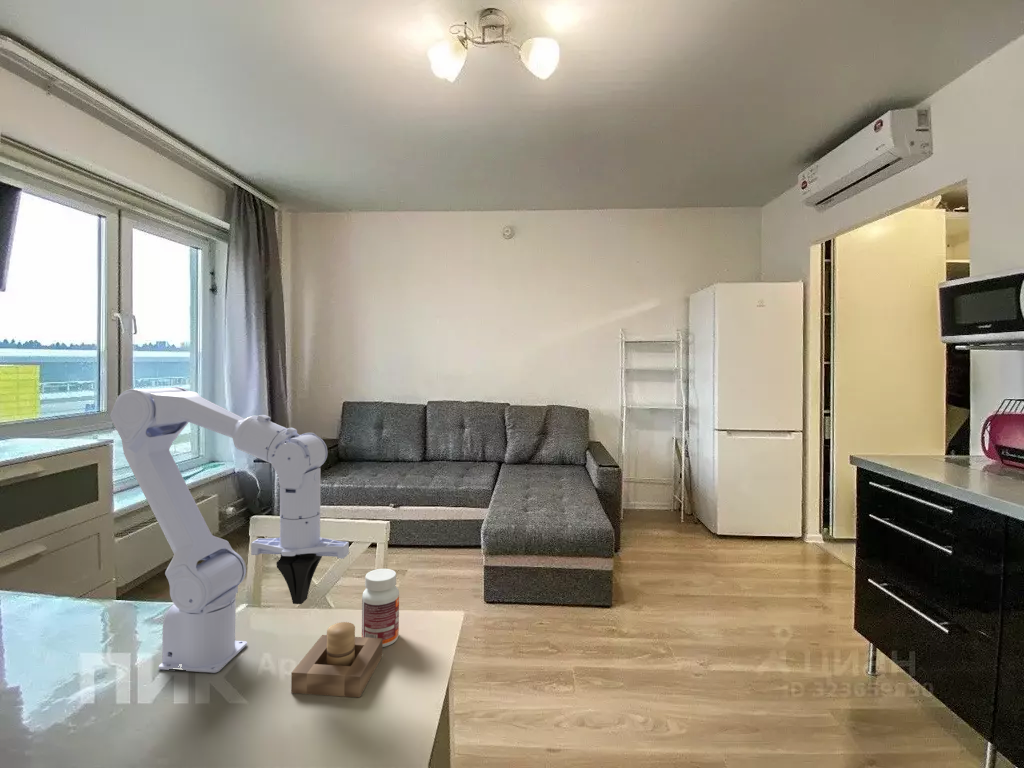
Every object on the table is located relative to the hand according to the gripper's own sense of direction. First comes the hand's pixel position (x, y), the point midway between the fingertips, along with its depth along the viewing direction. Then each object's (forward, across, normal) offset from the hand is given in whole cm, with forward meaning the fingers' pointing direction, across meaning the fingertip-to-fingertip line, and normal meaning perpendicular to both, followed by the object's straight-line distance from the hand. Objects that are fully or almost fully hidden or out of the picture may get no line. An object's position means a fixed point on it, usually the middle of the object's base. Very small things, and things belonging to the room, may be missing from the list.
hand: (300, 601), depth 77 cm
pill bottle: (+11, +10, +9) cm, 17 cm away
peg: (+10, +7, -1) cm, 13 cm away
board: (+10, +7, -1) cm, 12 cm away
